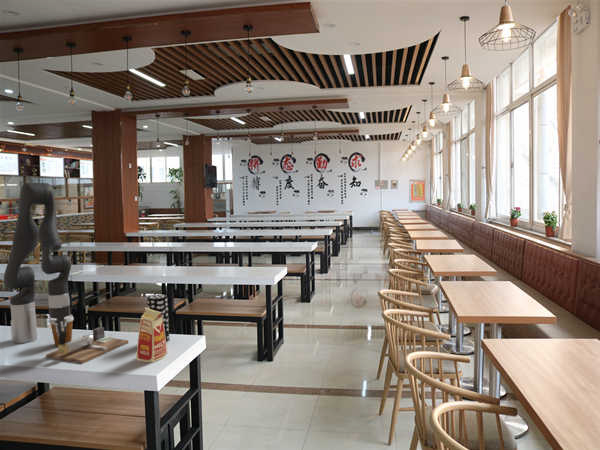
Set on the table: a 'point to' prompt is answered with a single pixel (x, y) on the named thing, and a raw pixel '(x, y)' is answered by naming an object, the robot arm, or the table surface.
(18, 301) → the robot arm
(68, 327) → the disposable coffee cup
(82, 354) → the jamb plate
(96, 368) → the table surface
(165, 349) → the milk carton
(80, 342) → the swing bar
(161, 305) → the spotted tube
